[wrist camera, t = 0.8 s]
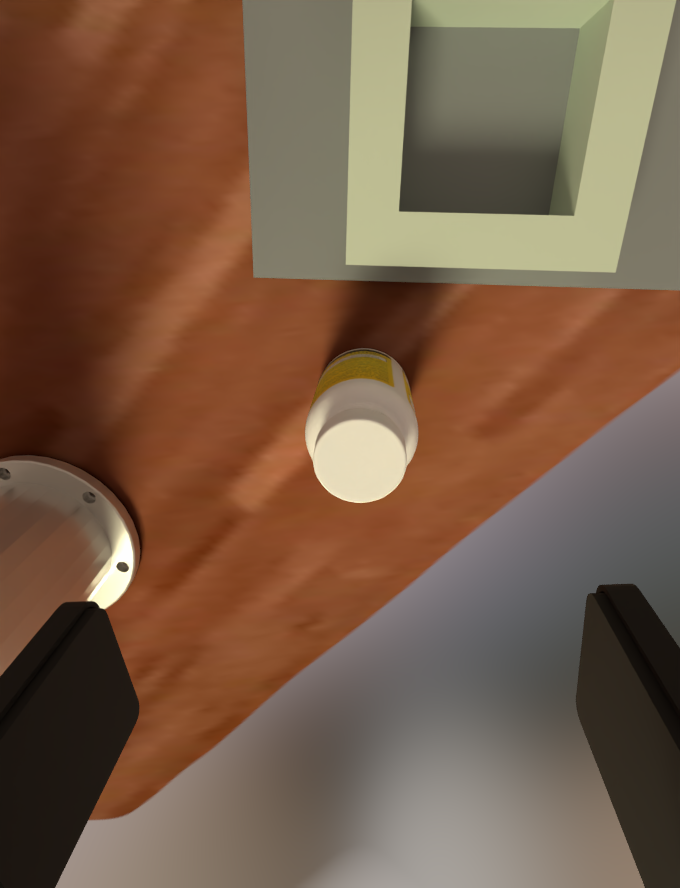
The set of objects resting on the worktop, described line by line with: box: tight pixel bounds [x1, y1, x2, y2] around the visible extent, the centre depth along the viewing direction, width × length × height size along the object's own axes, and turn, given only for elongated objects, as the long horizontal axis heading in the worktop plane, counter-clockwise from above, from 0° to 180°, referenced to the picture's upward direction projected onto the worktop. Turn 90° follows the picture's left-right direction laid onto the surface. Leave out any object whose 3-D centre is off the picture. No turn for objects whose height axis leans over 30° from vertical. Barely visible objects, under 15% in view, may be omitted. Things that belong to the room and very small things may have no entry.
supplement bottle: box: [305, 348, 418, 503], centre depth 26 cm, size 5×5×10 cm
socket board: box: [242, 0, 680, 290], centre depth 23 cm, size 22×14×5 cm, turn 89°
